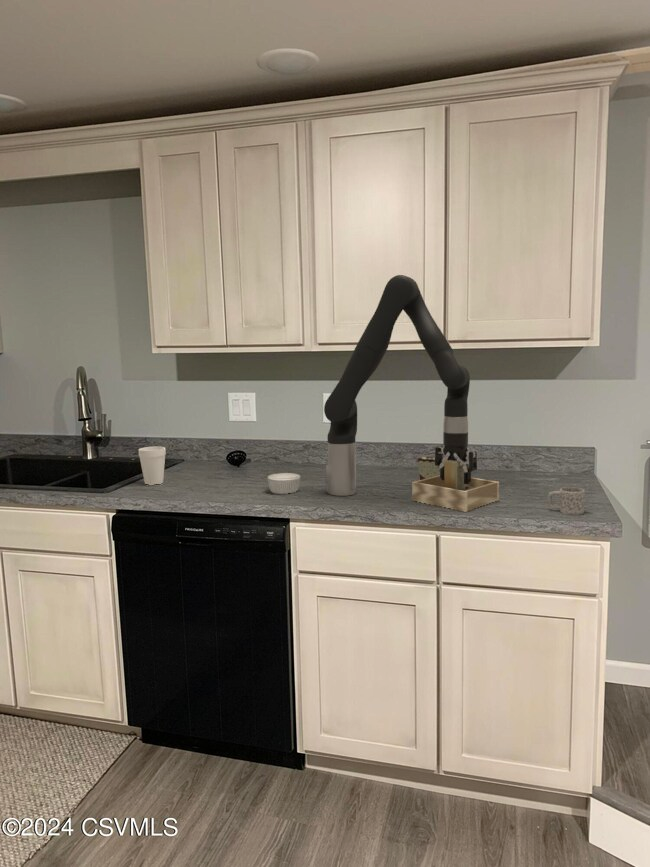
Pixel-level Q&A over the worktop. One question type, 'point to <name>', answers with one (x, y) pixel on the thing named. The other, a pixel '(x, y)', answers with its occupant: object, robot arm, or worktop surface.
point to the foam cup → (152, 464)
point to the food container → (427, 467)
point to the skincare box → (453, 475)
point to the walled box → (455, 493)
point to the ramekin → (284, 483)
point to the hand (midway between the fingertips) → (455, 481)
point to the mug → (569, 500)
